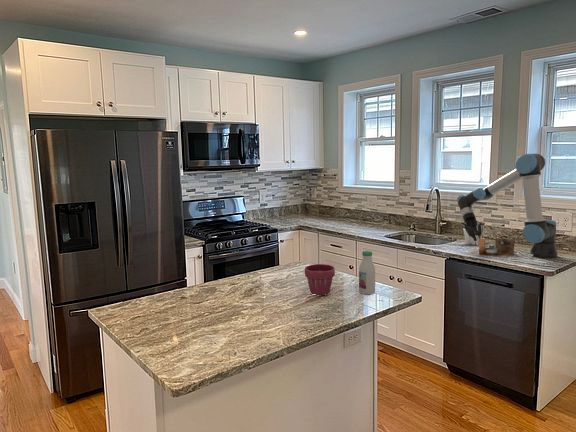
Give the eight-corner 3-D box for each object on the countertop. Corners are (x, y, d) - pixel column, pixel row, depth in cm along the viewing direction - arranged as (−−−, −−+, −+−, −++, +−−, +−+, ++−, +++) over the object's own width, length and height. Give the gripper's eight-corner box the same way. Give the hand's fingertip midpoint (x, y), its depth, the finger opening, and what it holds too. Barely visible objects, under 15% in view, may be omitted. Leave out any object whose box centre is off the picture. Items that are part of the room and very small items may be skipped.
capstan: (499, 252, 285) (500, 237, 284) (496, 256, 275) (497, 240, 274) (481, 250, 291) (482, 235, 290) (478, 254, 281) (479, 238, 280)
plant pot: (299, 295, 210) (299, 268, 208) (314, 287, 222) (314, 262, 220) (325, 300, 202) (325, 272, 200) (339, 291, 214) (339, 266, 212)
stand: (513, 255, 283) (514, 239, 281) (506, 260, 270) (507, 243, 268) (475, 250, 298) (475, 235, 297) (466, 254, 285) (467, 239, 284)
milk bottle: (373, 289, 216) (373, 249, 213) (376, 294, 208) (377, 253, 206) (357, 290, 216) (357, 250, 213) (360, 295, 208) (360, 253, 205)
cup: (461, 245, 315) (462, 230, 313) (463, 242, 324) (464, 227, 322) (476, 246, 310) (477, 230, 309) (478, 243, 319) (478, 228, 317)
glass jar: (467, 240, 333) (467, 221, 331) (481, 240, 332) (482, 221, 330) (471, 242, 323) (472, 223, 321) (486, 242, 322) (486, 223, 320)
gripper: (475, 218, 301) (486, 247, 287) (456, 218, 300) (467, 248, 286) (479, 211, 295) (491, 241, 281) (460, 212, 294) (471, 242, 280)
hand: (479, 244), depth 284 cm, fingers closed
